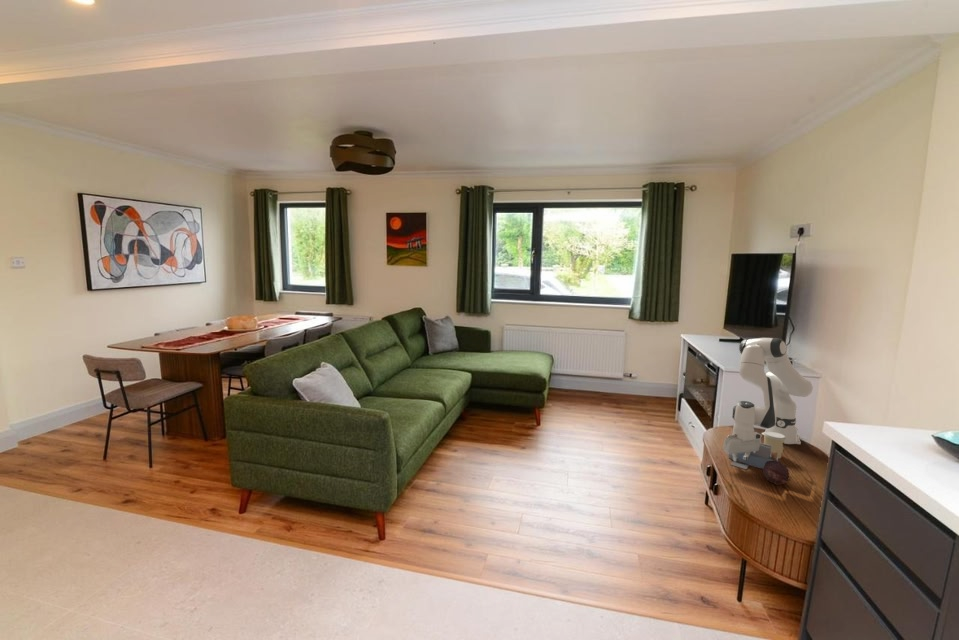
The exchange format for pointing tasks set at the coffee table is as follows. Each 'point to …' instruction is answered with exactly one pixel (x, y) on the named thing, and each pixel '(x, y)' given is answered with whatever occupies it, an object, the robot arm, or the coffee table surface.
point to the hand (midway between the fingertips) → (740, 460)
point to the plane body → (758, 456)
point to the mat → (739, 465)
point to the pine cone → (776, 472)
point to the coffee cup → (775, 442)
